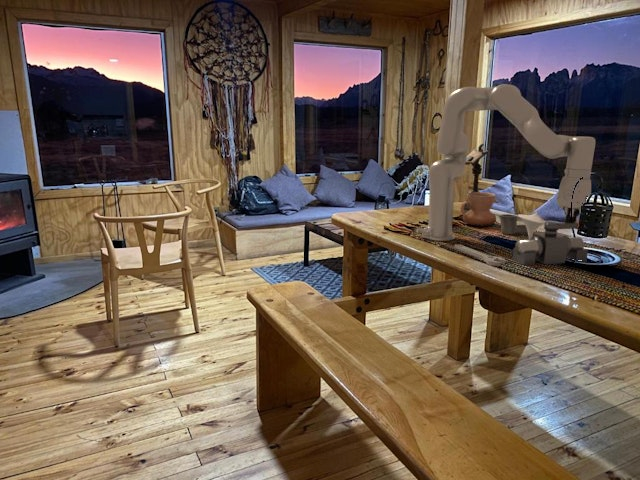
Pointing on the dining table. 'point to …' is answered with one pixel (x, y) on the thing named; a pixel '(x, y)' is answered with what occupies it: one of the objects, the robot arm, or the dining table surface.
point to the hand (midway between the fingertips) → (569, 226)
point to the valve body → (549, 248)
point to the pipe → (511, 225)
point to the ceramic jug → (479, 209)
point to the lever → (561, 225)
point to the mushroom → (532, 222)
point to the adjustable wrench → (481, 255)
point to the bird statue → (475, 169)
